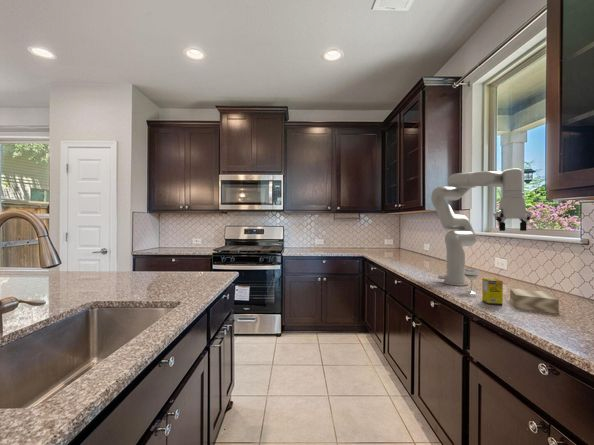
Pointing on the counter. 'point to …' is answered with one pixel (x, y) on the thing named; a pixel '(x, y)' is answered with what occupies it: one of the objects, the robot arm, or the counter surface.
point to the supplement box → (492, 291)
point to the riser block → (534, 300)
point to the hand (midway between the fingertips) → (512, 230)
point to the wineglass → (471, 277)
